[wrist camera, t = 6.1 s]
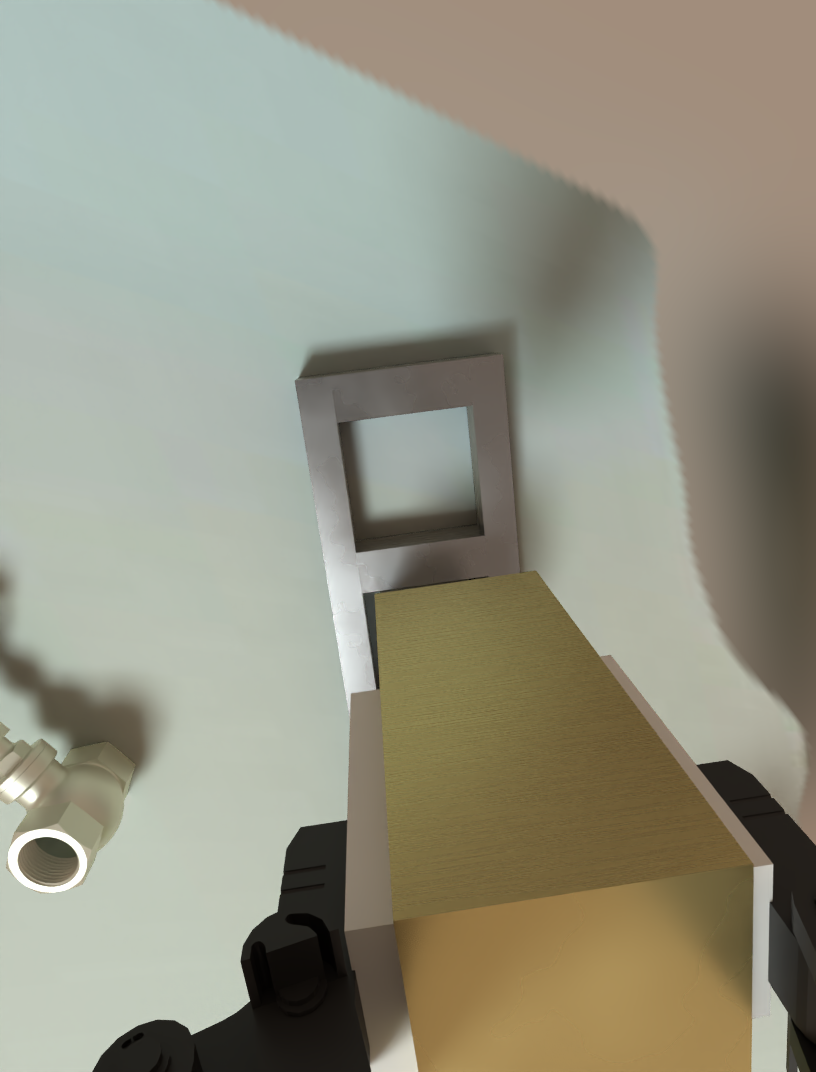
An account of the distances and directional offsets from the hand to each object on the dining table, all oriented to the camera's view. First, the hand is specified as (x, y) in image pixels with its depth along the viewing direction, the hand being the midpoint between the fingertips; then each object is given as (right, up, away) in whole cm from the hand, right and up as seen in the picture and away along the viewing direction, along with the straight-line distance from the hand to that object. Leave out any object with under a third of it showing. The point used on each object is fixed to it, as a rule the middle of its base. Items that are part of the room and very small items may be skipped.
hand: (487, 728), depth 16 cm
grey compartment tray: (-1, 0, +20) cm, 20 cm away
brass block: (0, +1, +4) cm, 4 cm away
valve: (-21, -5, +20) cm, 29 cm away
